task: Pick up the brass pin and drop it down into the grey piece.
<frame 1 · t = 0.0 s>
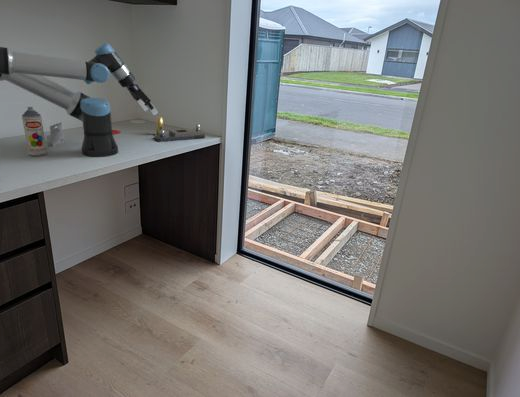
hand: (151, 112, 184), 15 cm above the table, tool tilted 35°, fingers open, 13 cm apart
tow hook: (111, 133, 204), on the table
aerosol can: (38, 154, 155), on the table
brass pin: (160, 134, 206), on the table
grey piece: (181, 138, 201), on the table
ink cartridge box: (56, 144, 173), on the table
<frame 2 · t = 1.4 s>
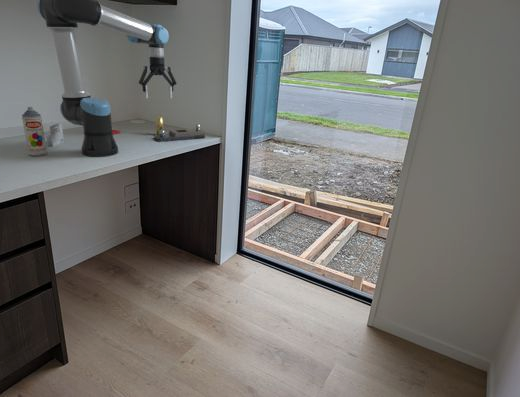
hand: (158, 98, 198), 20 cm above the table, tool pointing down, fingers open, 13 cm apart
nothing on the table moved.
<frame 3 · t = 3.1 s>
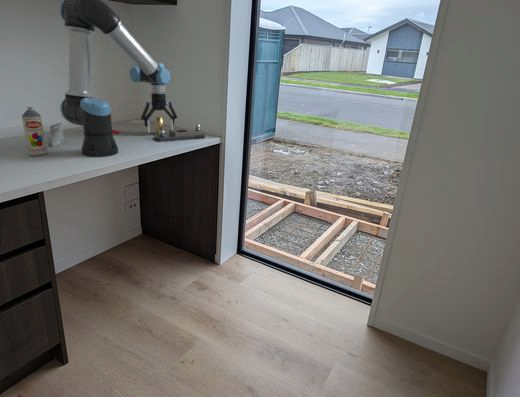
hand: (160, 131, 205), 2 cm above the table, tool pointing down, fingers open, 13 cm apart
nothing on the table moved.
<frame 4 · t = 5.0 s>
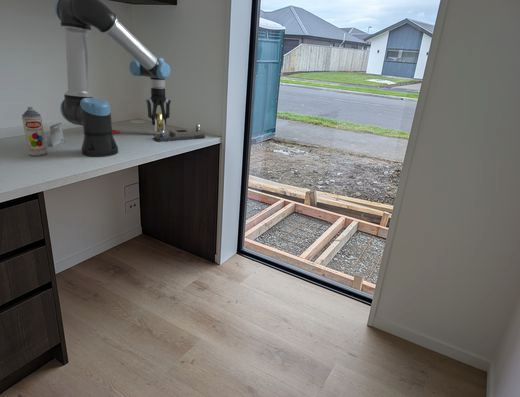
hand: (159, 130, 204), 3 cm above the table, tool pointing down, fingers closed on brass pin, 4 cm apart
brass pin: (159, 131, 204), point 2 cm above the table, touching gripper
everything else where it was.
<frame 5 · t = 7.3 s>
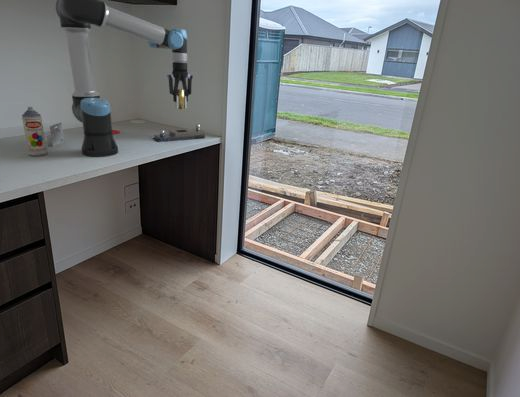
hand: (180, 107, 195), 17 cm above the table, tool pointing down, fingers closed on brass pin, 4 cm apart
brass pin: (180, 108, 195), point 16 cm above the table, touching gripper
everything else where it was.
when the fingers open (6 cm above the table, at t = 9.8 s): brass pin drops 4 cm, resting in grey piece.
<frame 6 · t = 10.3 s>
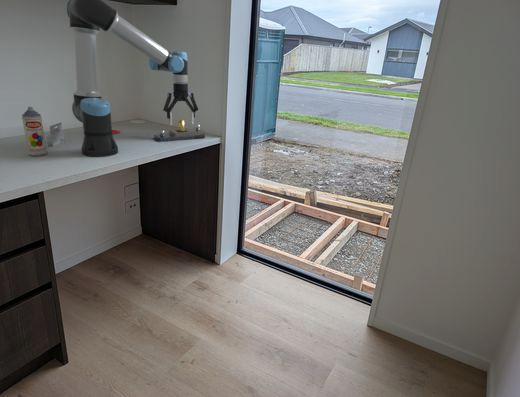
hand: (181, 124, 198), 8 cm above the table, tool pointing down, fingers open, 12 cm apart
brass pin: (181, 138, 201), resting in grey piece
everything else where it was.
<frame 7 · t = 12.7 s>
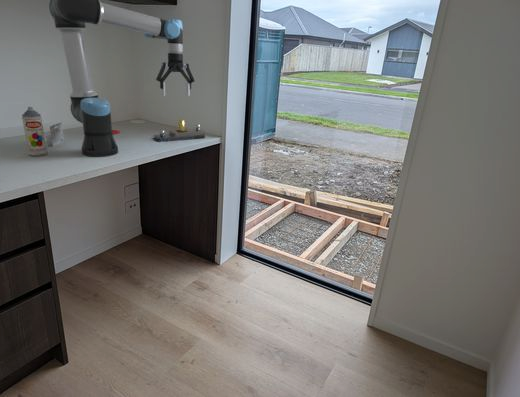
hand: (176, 95, 193), 23 cm above the table, tool pointing down, fingers open, 13 cm apart
nothing on the table moved.
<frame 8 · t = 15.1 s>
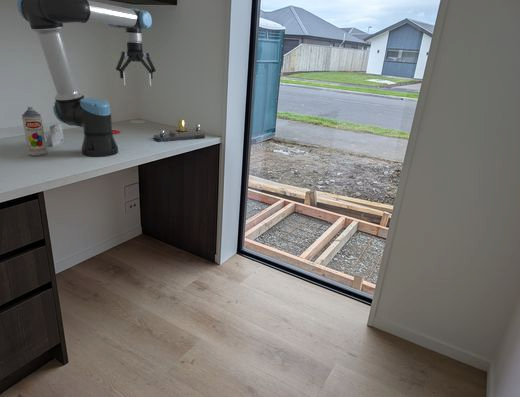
hand: (137, 85, 193), 27 cm above the table, tool pointing down, fingers open, 13 cm apart
nothing on the table moved.
at the end: brass pin 0.1 cm off-centre on the grey piece, point 0.0 cm above the grey piece's base; brass pin tilted 1°; the gripper is holding nothing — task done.
